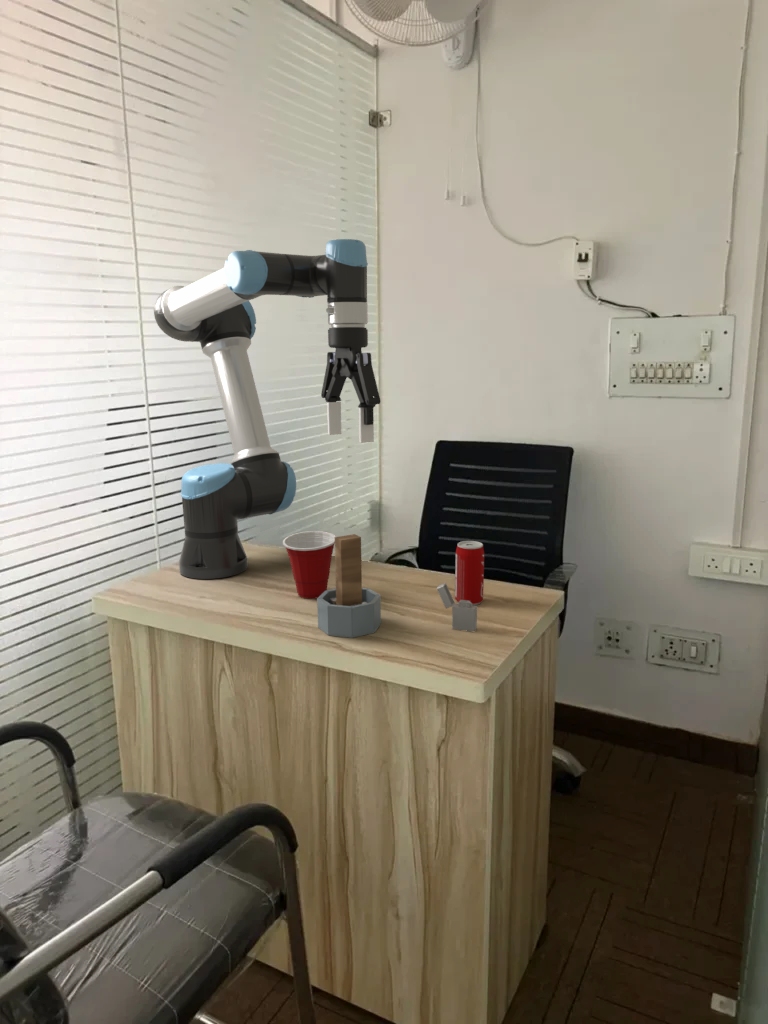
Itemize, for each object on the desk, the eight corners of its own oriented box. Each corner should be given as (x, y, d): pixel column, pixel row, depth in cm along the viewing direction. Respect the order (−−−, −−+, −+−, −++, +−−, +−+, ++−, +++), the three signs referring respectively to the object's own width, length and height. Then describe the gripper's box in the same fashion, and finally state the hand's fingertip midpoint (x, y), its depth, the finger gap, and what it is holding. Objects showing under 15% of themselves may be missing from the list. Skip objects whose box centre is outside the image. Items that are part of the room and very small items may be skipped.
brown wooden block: (336, 622, 135) (334, 537, 131) (356, 618, 136) (354, 534, 133) (342, 626, 133) (340, 540, 129) (362, 622, 134) (361, 537, 131)
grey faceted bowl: (310, 621, 137) (309, 593, 135) (361, 611, 142) (361, 583, 140) (336, 641, 128) (335, 611, 126) (389, 629, 133) (389, 600, 131)
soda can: (486, 605, 144) (487, 546, 141) (458, 607, 143) (459, 547, 141) (479, 596, 149) (480, 538, 147) (452, 597, 149) (453, 539, 146)
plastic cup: (274, 598, 149) (271, 540, 146) (304, 582, 158) (302, 528, 156) (319, 607, 144) (317, 547, 141) (347, 590, 153) (346, 534, 151)
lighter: (476, 628, 133) (477, 586, 131) (474, 632, 131) (475, 589, 129) (439, 623, 135) (439, 581, 133) (436, 626, 134) (436, 584, 132)
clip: (330, 619, 136) (329, 598, 135) (353, 614, 138) (352, 594, 137) (345, 630, 131) (345, 609, 130) (369, 625, 133) (369, 604, 132)
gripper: (302, 327, 149) (306, 432, 154) (361, 325, 128) (363, 447, 133) (336, 327, 153) (338, 430, 158) (398, 325, 132) (399, 444, 136)
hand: (350, 438), depth 145 cm, fingers open, 13 cm apart
